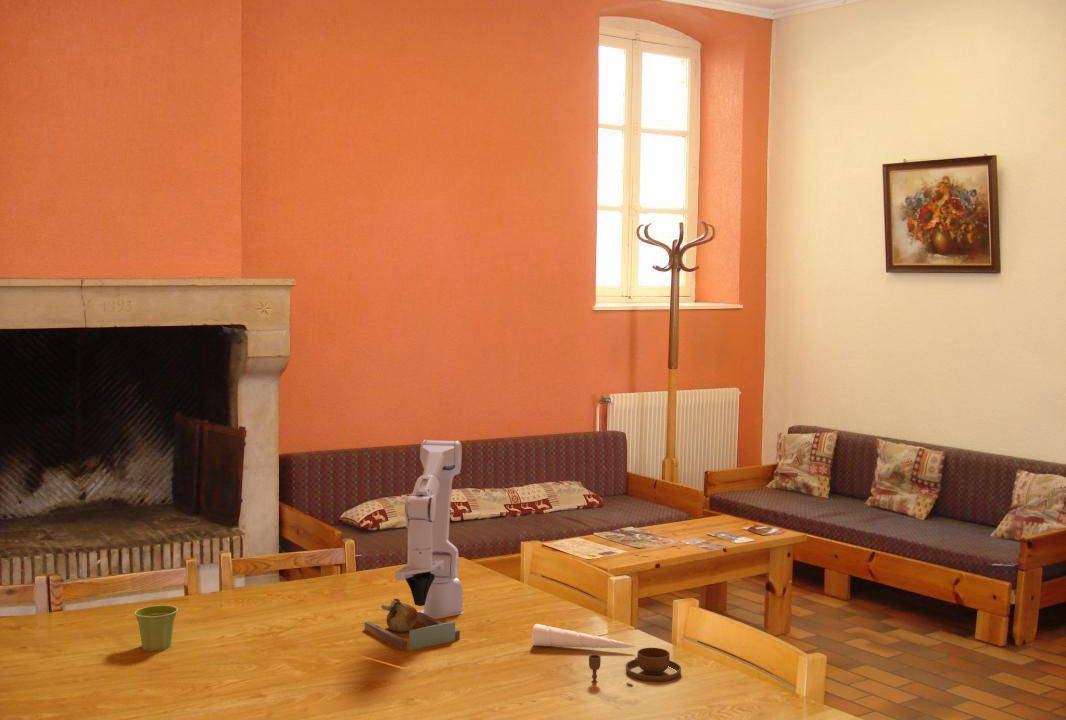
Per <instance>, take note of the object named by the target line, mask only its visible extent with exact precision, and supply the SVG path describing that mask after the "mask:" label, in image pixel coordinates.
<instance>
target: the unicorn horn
mask: <svg viewBox="0 0 1066 720" xmlns="http://www.w3.org/2000/svg"><path fill="white" fill-rule="evenodd" d="M531 644H532V645H533V646H538V647H539V646H541V647H561V648H562V647H563V648H565V647H566V648H567V647H569V648H589V649H591V648H592V649H596V648H598V649H599V648H600V649H629V648H635V647H636V646H635V644H634V645H633V644H631V643H629V642H628V643H627V642H623V641H619V640H615V639H611V638H607V637H602V636H597V635H592V634H587V633H584V632H577V631H574V630H568V629H562V628H560V627H554V626H549V625H548V626H547V625H544V624H539V623H535V624H534V625H533V627H532V631H531Z"/></svg>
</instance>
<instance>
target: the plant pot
mask: <svg viewBox="0 0 1066 720" xmlns="http://www.w3.org/2000/svg"><path fill="white" fill-rule="evenodd" d="M178 611H179V608H178V607H177V606H174V605H166V604H164V605H163V604H162V605H161V604H160V605H159V604H158V605H150V606H145V607H142V608H141V607H140V608H138V609H136V610H135V611H134V616H135V617H136V621H137V623H138V627H139V633H140V634H139V635H140V640H141V646H142V650H144V651H147V650H148V652H154V651H157V650H158V652H159V651H163V649H164V650H167V649H169V648H170V647H172V642H173V641H172V640H173V633H174V626H175V625H174V623H175V619H176V616H177V613H178Z"/></svg>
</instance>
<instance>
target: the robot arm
mask: <svg viewBox="0 0 1066 720" xmlns="http://www.w3.org/2000/svg"><path fill="white" fill-rule="evenodd" d="M419 449H420V450H419V461H420V462H421V465H422V467H423V473H422V475H420V476H419V477H417V480H416V481H415V483H414V484H415V485H414V487H413V491H412V493H411V495H410V496H409V498H408V497H407V498H406V500H405V505H404V517H405V528H406V529H407V562H406V563H405V565H404V567H402V568H400V569H399V570H395V571H394V580H396V581H400V582H403V581H406V583H407V585H408V586H409V588H410V592H411V596H412V600H413V603H414V606H418V607H423V609H422V610H421V609H420V610H417V612H421V613H423V614H426V615H428V616H430V617H432V618H434V619H436V620H438V619H442V618H448V617H451V616H452V617H453V616H456V615H457V616H458V615H462V614H463V615H464V614H465V612H464V611H463V608H464V606H463V602H464V601H463V600H464V599H463V595H464V594H463V593H464V591H463V584H462V582H461V579H459V578H458V575H459V570H460V557H459V555H460V554H459V550H458V548H457V546H455V545H454V544H453V543H452V542H450V539H449V537H450V536H449V535H450V534H449V533H450V520H451V519H450V518H451V506H452V505H451V503H452V502H451V501H452V489H453V480H454V476H456V475H457V476H458V475H459V474H460V473H461V469H462V457H463V455H462V453H463V448H462V443H461V442H460V440H434V439H432V440H431V439H424V440H423V441H421V444H420V448H419Z"/></svg>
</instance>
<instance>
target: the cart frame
mask: <svg viewBox="0 0 1066 720" xmlns="http://www.w3.org/2000/svg"><path fill="white" fill-rule="evenodd" d="M417 622H419V623H421V624H423V625H425V626H426V627H428V626H433V625H439V624H444V623H445V622H442V621H440V620H438V619H434V618H432V617H430V616H428V615H426V614H423V613H421V612H418V620H417ZM364 631H366V632H368V633H370V634H372V635H374V636H375V637H377V638H378V639H380V640H382V641H384V642H385V643H388V644H390V645H391V646H392V647H394V648H396V649H398V650H400V651H402V652H405V651H408V641H407V640H406V639H403V638H401V637H399V636H398V635H396V634H394V633H392V632H390V631H388V630H387V629H385V628H383V627H381V626H379V625H377V624H376V623H374V622H371V621H369V620H368V621H364ZM460 632H461V631H460V630H458V629H456V628H455V641H456V640H460V639H461V636H460V635H461V633H460Z"/></svg>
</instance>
